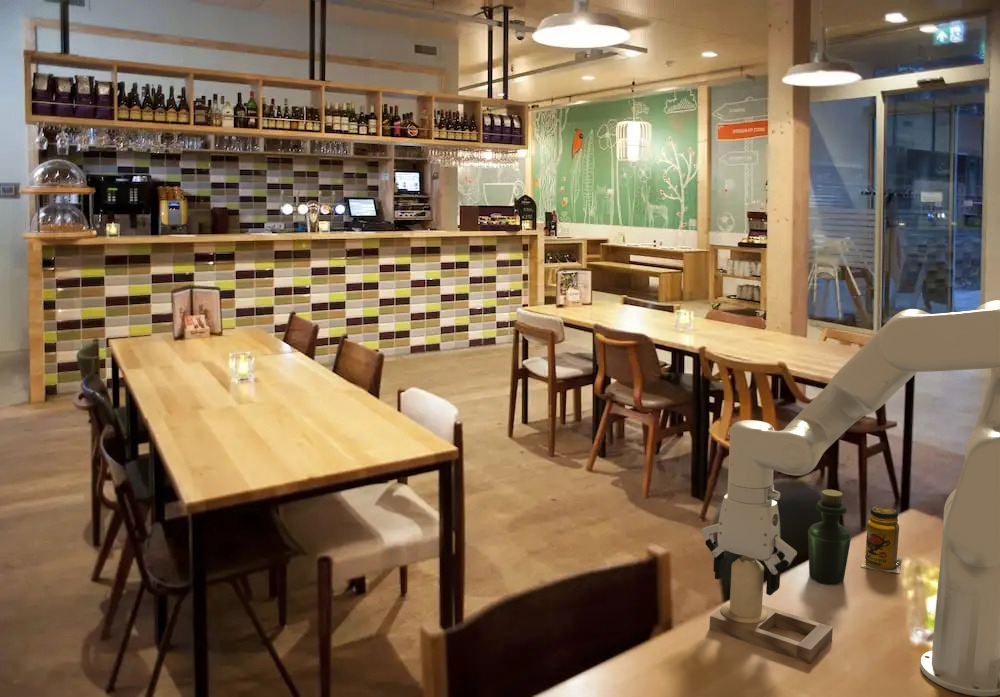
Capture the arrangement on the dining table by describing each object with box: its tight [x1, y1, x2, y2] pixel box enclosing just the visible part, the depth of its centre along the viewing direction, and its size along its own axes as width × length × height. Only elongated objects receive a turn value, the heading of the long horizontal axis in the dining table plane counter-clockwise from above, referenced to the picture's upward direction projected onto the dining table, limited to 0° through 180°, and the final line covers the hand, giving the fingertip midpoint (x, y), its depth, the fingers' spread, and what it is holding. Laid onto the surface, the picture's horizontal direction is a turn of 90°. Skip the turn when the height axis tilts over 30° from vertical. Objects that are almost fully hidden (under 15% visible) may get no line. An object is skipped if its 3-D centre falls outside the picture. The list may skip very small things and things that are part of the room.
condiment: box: [860, 506, 903, 574], centre depth 180 cm, size 7×8×12 cm
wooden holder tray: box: [709, 600, 834, 665], centre depth 151 cm, size 18×10×3 cm, turn 49°
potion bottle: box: [807, 489, 852, 586], centre depth 172 cm, size 8×8×18 cm
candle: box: [729, 555, 765, 618], centre depth 153 cm, size 6×6×10 cm
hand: (745, 584), depth 153 cm, fingers open, 9 cm apart
